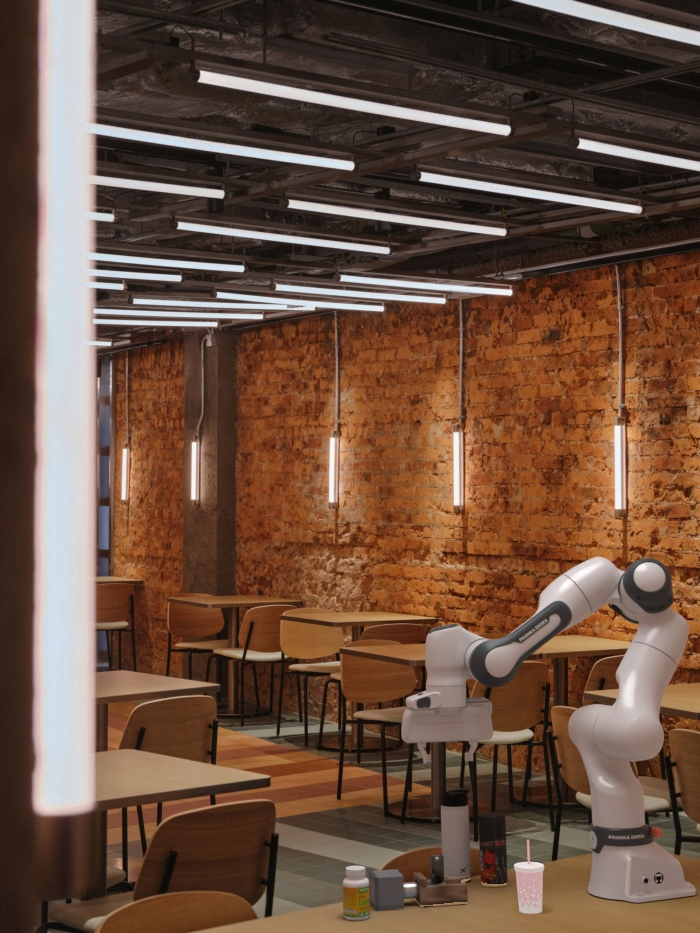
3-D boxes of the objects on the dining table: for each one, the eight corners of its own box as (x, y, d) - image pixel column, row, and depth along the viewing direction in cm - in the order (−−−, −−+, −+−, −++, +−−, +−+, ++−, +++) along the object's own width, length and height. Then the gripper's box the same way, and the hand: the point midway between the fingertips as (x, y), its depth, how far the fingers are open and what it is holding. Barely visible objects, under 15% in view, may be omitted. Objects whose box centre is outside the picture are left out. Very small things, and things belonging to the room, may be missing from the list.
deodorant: (513, 884, 266) (510, 814, 268) (492, 888, 263) (490, 818, 264) (495, 879, 271) (493, 810, 273) (475, 883, 268) (472, 814, 269)
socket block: (397, 900, 255) (397, 869, 255) (404, 908, 248) (403, 876, 249) (369, 902, 254) (369, 871, 254) (375, 910, 247) (374, 878, 248)
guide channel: (460, 896, 257) (459, 869, 257) (467, 904, 251) (466, 876, 251) (414, 899, 255) (413, 872, 256) (420, 907, 249) (419, 879, 250)
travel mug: (471, 884, 267) (468, 791, 269) (441, 883, 268) (438, 791, 270) (473, 877, 273) (470, 787, 275) (444, 876, 275) (442, 786, 277)
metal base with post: (443, 894, 255) (441, 854, 256) (446, 897, 252) (445, 857, 252) (377, 898, 252) (376, 858, 253) (380, 902, 249) (379, 861, 250)
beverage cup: (550, 913, 242) (547, 841, 244) (520, 915, 241) (518, 843, 243) (540, 905, 248) (537, 835, 250) (511, 907, 247) (509, 837, 249)
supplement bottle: (361, 922, 239) (360, 871, 240) (338, 918, 242) (337, 869, 243) (375, 915, 244) (373, 866, 245) (352, 912, 247) (351, 863, 248)
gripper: (487, 695, 272) (490, 758, 271) (398, 698, 269) (400, 762, 268) (495, 697, 266) (497, 762, 265) (404, 701, 263) (406, 766, 261)
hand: (448, 762), depth 266 cm, fingers open, 8 cm apart
